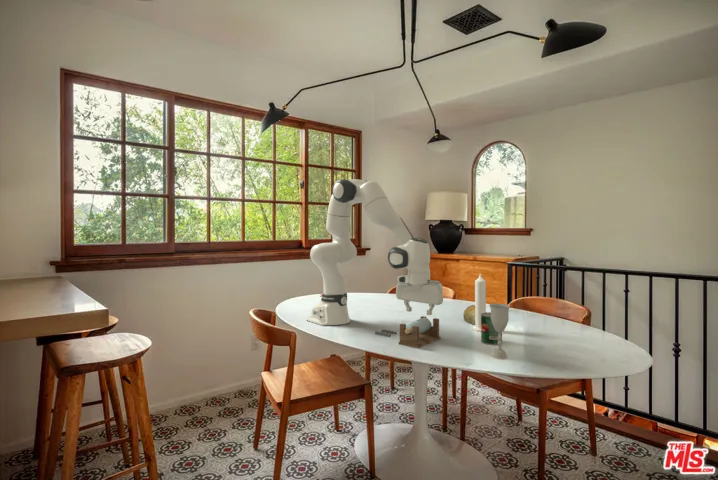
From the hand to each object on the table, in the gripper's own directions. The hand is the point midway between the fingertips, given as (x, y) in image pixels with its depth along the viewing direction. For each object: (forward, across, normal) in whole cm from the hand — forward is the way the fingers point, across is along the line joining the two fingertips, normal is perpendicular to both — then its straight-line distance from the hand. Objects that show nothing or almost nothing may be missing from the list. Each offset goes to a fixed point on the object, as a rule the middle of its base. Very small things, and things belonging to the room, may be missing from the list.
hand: (418, 312), depth 159 cm
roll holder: (+11, 0, 0) cm, 11 cm away
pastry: (+12, -5, -43) cm, 45 cm away
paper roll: (+6, 0, 0) cm, 6 cm away
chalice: (+11, -32, -1) cm, 34 cm away
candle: (+11, -13, -31) cm, 35 cm away
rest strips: (+12, +16, 0) cm, 20 cm away
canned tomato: (+11, -24, -16) cm, 31 cm away
